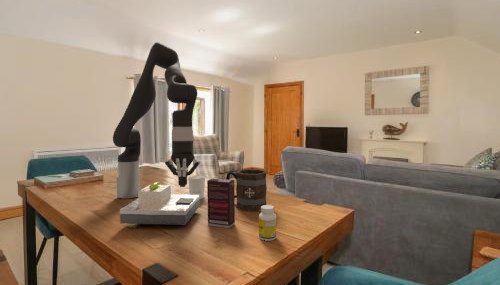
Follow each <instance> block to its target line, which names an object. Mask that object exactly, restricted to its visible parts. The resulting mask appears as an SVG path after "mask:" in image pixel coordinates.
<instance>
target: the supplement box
mask: <svg viewBox="0 0 500 285" xmlns="http://www.w3.org/2000/svg"><path fill="white" fill-rule="evenodd" d="M206 183H207V186H206V187H207V192H206V193H207V226H210V227H211V226H212V227H216V228H217V227H220V228H226V229H230V228H232V227H233V226H234V225H235V224H236V217H235V216H236V214H235V212H236V210H235V208H236V207H235V206H236V204H235V200H236V198H235V195H236V194H235V193H236V192H235V179H230V180H229V179H226V178H214V177H213V178H211V179H209V180H207V181H206Z"/></svg>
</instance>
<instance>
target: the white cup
mask: <svg viewBox="0 0 500 285" xmlns="http://www.w3.org/2000/svg"><path fill="white" fill-rule="evenodd" d="M205 182H206V176H205V175H199V174H198V175H196V174H195V175H188V176H187V183H188V192H189V193H188V194H189V195H199V200H201V199H204V198H205V191H206V190H205V188H206V183H205Z"/></svg>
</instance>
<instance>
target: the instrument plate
mask: <svg viewBox="0 0 500 285" xmlns="http://www.w3.org/2000/svg"><path fill="white" fill-rule="evenodd" d="M198 200H199V201H200V199H199V195H190V194H171V184H162V183H161V181H156V182H154V183H152V184H149V185H147V186H145V187H143V188H142V189H141V188H140V191H138V197H137V199H135V200H133V201H132V202H130V203H129V204H126V205H125V206H123V207H122V208H120V209H119V215H120V214H145V215H186V214H187V213H188V211H189V210H190V209H191V208H192V207H193V206H194V204H195V203H196V202H197V201H198Z"/></svg>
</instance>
